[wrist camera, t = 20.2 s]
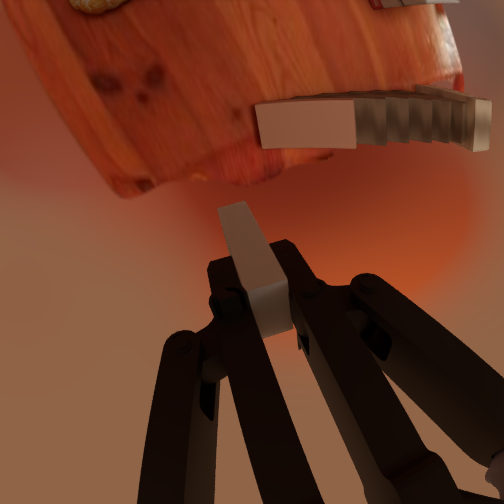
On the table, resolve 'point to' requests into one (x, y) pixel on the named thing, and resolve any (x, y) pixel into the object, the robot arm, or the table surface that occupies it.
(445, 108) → the domino
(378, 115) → the domino
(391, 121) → the domino
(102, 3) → the fruit
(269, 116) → the domino
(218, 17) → the table surface
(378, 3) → the ink box
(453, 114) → the domino
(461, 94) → the bookend block
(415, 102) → the domino
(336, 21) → the table surface
